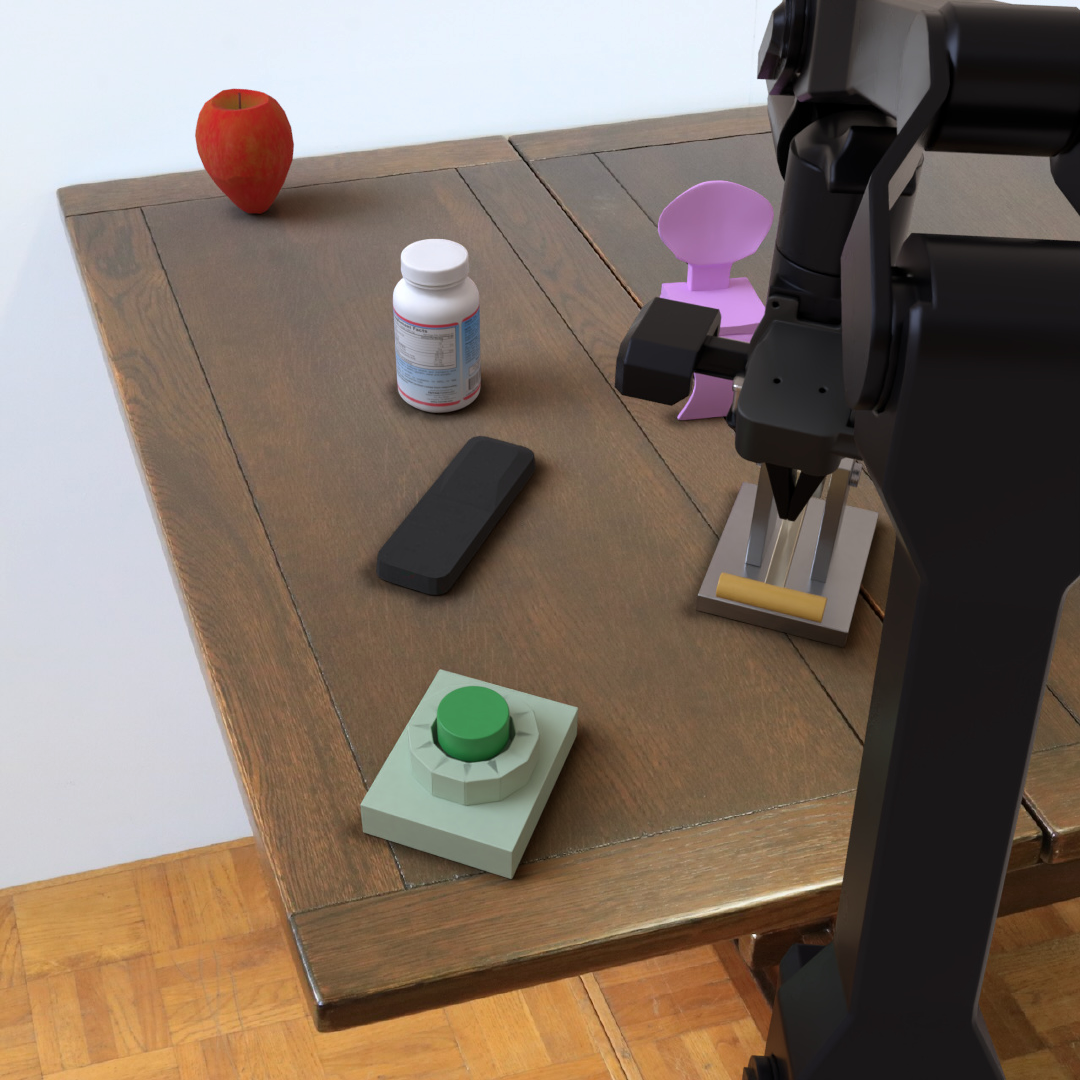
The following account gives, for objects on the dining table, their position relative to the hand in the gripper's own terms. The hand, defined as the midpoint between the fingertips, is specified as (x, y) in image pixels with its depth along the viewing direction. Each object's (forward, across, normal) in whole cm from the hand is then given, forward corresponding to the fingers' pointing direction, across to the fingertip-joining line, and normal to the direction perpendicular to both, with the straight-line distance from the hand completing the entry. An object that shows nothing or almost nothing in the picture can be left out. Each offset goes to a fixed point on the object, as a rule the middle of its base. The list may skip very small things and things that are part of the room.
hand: (788, 516), depth 70 cm
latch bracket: (+10, 0, +8) cm, 13 cm away
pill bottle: (+11, -28, +18) cm, 35 cm away
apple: (+11, -55, +39) cm, 69 cm away
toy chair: (+11, -10, +26) cm, 30 cm away
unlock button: (+7, -12, -15) cm, 20 cm away
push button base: (+10, -12, -15) cm, 22 cm away
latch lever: (+5, 0, +5) cm, 7 cm away
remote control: (+11, -21, +5) cm, 24 cm away
